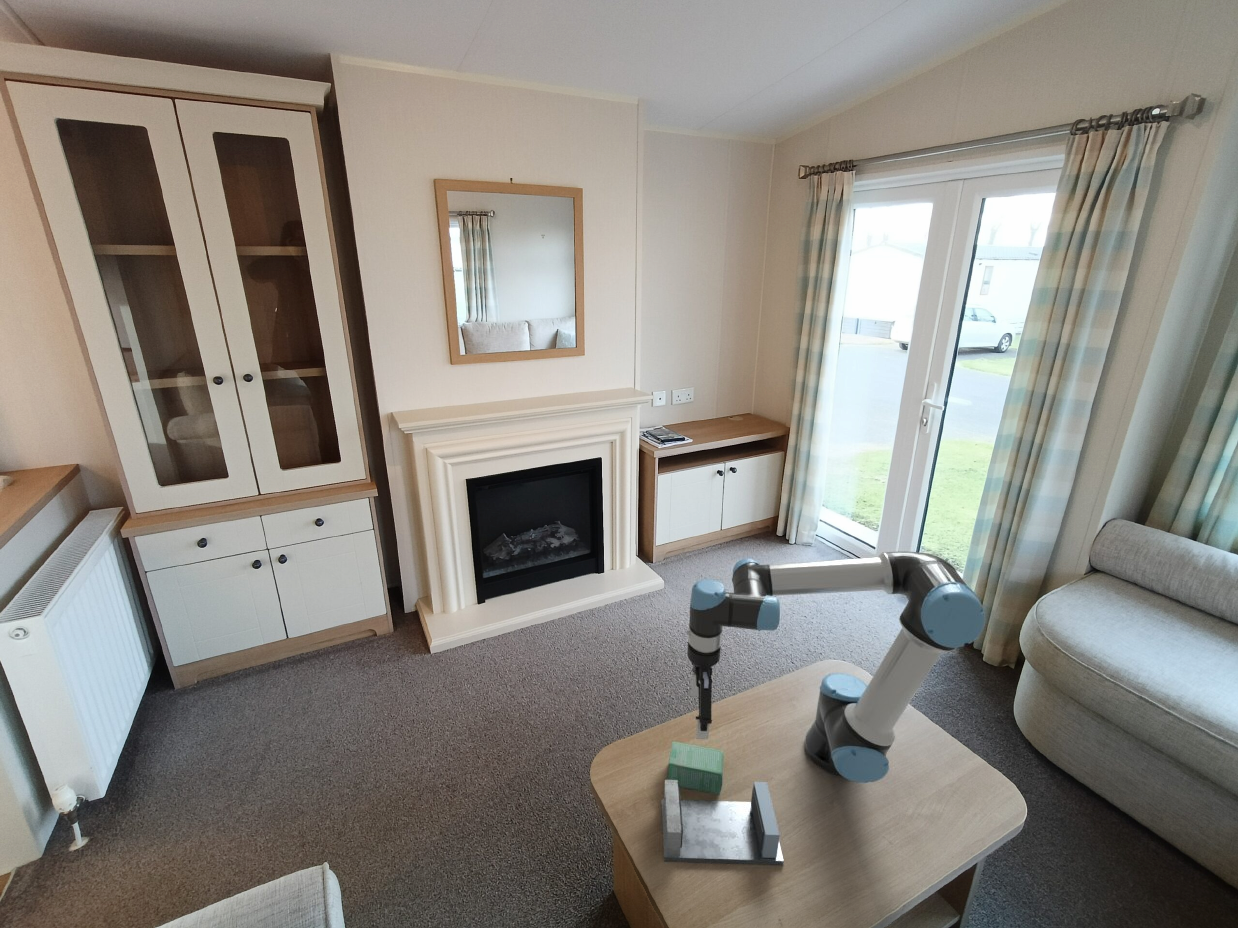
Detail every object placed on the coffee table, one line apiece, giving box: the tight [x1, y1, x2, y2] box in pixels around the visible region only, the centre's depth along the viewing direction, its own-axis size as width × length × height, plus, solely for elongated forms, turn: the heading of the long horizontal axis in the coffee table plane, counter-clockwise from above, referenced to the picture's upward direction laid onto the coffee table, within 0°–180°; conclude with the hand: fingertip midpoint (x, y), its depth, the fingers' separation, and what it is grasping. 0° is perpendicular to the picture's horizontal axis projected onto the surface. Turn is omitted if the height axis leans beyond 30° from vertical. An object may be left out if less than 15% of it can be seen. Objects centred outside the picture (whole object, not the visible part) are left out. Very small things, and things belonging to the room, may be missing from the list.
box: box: [667, 741, 724, 796], centre depth 143 cm, size 7×14×8 cm, turn 78°
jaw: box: [750, 781, 781, 858], centre depth 129 cm, size 3×13×7 cm, turn 178°
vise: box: [660, 779, 785, 867], centre depth 129 cm, size 26×14×8 cm, turn 88°
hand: (699, 715), depth 138 cm, fingers open, 13 cm apart
